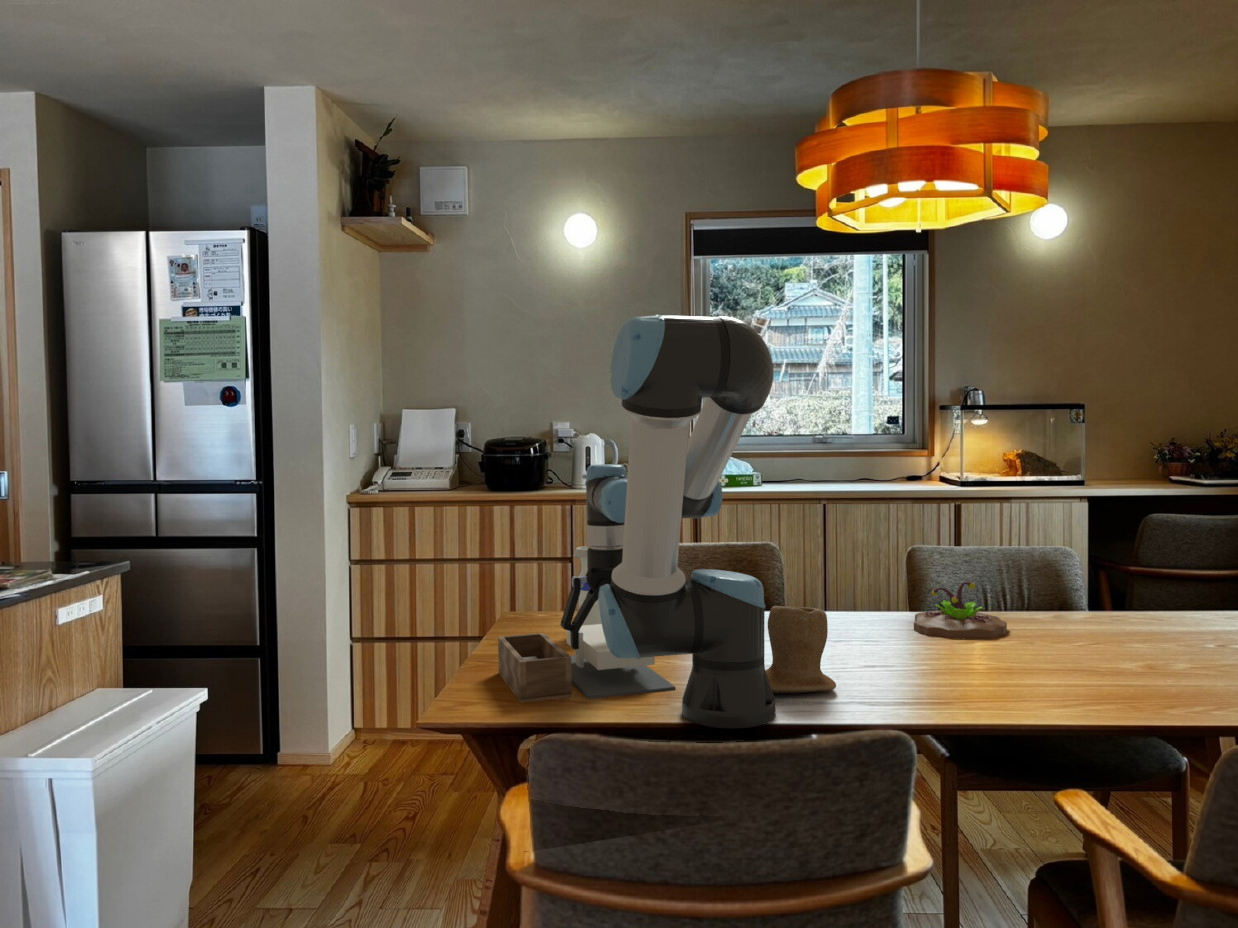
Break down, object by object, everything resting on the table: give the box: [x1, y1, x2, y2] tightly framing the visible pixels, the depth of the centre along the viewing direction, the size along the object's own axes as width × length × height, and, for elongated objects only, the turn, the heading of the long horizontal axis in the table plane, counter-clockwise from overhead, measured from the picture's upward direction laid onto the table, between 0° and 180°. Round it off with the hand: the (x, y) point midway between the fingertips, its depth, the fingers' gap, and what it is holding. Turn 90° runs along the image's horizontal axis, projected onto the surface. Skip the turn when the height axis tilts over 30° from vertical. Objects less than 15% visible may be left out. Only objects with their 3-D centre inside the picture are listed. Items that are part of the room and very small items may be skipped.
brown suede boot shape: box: [765, 605, 837, 694], centre depth 168 cm, size 15×12×15 cm
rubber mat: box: [569, 654, 676, 700], centre depth 180 cm, size 28×16×1 cm, turn 18°
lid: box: [565, 624, 656, 670], centre depth 180 cm, size 22×11×3 cm, turn 18°
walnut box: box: [497, 632, 573, 704], centre depth 173 cm, size 20×9×7 cm, turn 18°
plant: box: [913, 581, 1008, 640], centre depth 213 cm, size 20×20×11 cm
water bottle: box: [572, 545, 602, 626], centre depth 213 cm, size 8×9×25 cm
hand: (608, 662), depth 180 cm, fingers closed on lid, 11 cm apart
